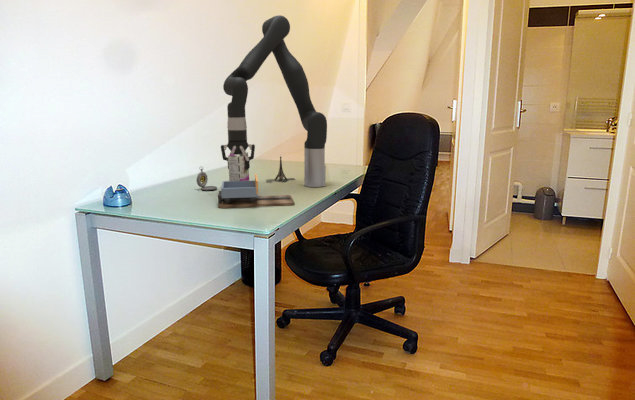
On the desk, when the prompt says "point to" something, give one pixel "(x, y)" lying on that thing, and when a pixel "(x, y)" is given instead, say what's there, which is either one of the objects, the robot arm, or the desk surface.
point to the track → (256, 201)
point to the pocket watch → (204, 181)
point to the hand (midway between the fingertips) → (238, 169)
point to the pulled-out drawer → (239, 190)
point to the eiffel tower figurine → (280, 175)
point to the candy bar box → (238, 168)
